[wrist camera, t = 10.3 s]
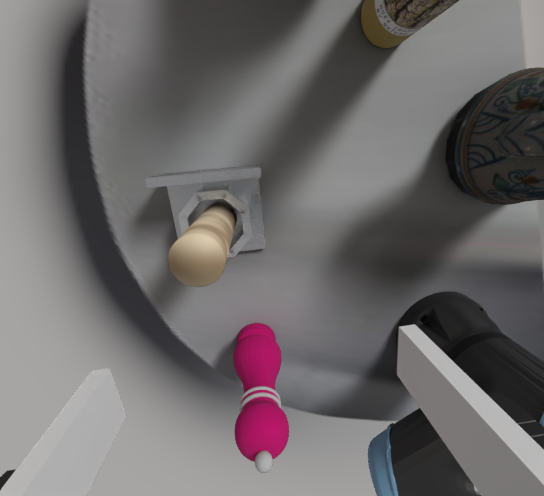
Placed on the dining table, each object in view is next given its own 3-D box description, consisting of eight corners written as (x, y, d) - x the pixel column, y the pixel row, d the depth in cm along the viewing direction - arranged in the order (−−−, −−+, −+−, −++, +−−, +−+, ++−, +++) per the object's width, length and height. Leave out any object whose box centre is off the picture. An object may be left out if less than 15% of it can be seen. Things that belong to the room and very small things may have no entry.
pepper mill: (265, 313, 43) (281, 433, 24) (284, 345, 46) (313, 477, 27) (226, 332, 44) (212, 464, 25) (247, 362, 46) (248, 505, 27)
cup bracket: (265, 246, 40) (270, 267, 32) (183, 255, 39) (168, 279, 31) (257, 165, 36) (260, 167, 28) (166, 173, 35) (144, 178, 28)
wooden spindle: (238, 233, 37) (228, 284, 22) (206, 236, 37) (174, 289, 22) (234, 201, 36) (220, 231, 21) (200, 204, 36) (162, 237, 21)
